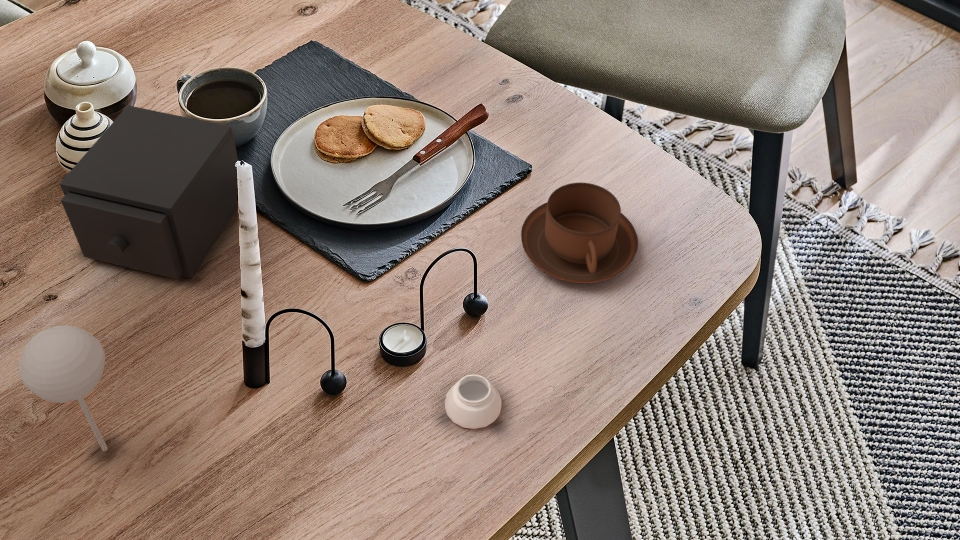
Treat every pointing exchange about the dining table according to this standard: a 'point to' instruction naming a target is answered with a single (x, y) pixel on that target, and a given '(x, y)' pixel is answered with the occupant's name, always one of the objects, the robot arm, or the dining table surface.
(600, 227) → the cup and saucer
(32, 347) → the lollipop
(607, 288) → the dining table surface
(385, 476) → the dining table surface
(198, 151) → the small drawer cabinet
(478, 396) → the lidless jar
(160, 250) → the black rectangular drawer
